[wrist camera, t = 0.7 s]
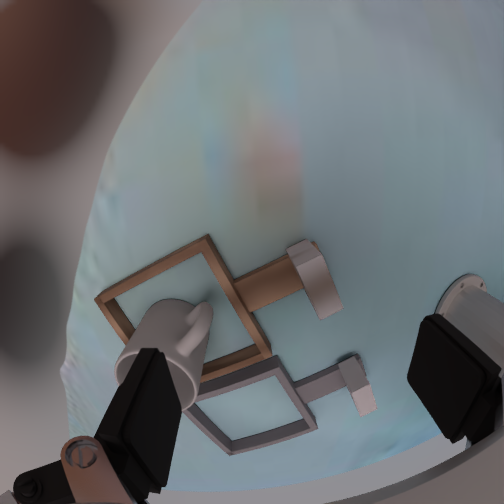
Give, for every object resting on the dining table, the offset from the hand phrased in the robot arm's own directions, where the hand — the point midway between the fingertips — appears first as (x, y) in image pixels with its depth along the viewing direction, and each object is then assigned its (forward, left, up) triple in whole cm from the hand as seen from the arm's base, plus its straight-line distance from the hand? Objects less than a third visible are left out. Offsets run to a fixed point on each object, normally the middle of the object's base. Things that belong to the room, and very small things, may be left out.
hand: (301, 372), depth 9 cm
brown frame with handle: (-5, +9, -22) cm, 25 cm away
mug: (-5, +13, -23) cm, 27 cm away
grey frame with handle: (-23, +8, -22) cm, 33 cm away
